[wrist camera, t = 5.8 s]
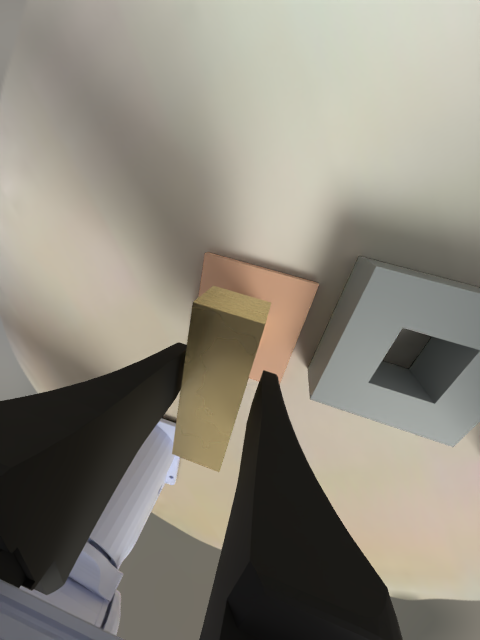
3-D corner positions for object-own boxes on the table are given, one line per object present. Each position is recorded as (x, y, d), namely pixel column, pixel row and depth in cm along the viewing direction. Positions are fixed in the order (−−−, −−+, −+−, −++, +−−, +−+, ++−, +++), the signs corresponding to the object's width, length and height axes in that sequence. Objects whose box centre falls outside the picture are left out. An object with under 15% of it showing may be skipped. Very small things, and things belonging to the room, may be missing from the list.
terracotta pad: (278, 383, 17) (278, 387, 17) (191, 354, 18) (189, 358, 17) (318, 282, 13) (319, 285, 13) (207, 251, 14) (204, 253, 14)
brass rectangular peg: (247, 377, 17) (219, 472, 11) (217, 367, 17) (171, 454, 11) (279, 274, 13) (265, 324, 7) (240, 263, 13) (193, 302, 7)
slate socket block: (425, 406, 15) (453, 447, 12) (307, 369, 16) (310, 399, 13) (516, 296, 12) (582, 320, 9) (358, 255, 12) (376, 266, 10)
